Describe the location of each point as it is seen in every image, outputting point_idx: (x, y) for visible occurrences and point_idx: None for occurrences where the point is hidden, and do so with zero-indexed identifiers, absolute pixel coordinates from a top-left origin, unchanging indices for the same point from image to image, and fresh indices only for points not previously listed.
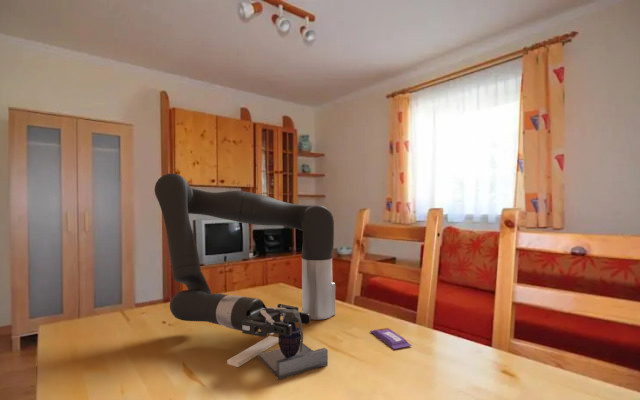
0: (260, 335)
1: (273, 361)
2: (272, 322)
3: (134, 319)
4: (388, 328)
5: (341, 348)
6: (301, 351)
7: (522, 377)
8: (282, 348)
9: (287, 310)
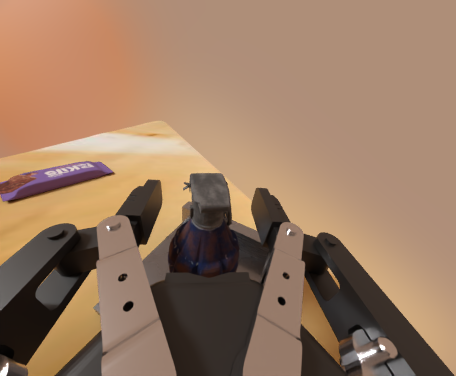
0: (326, 273)
1: None
2: (293, 226)
3: None
4: (21, 174)
5: None
6: (161, 275)
7: (157, 132)
8: None
9: (214, 191)
